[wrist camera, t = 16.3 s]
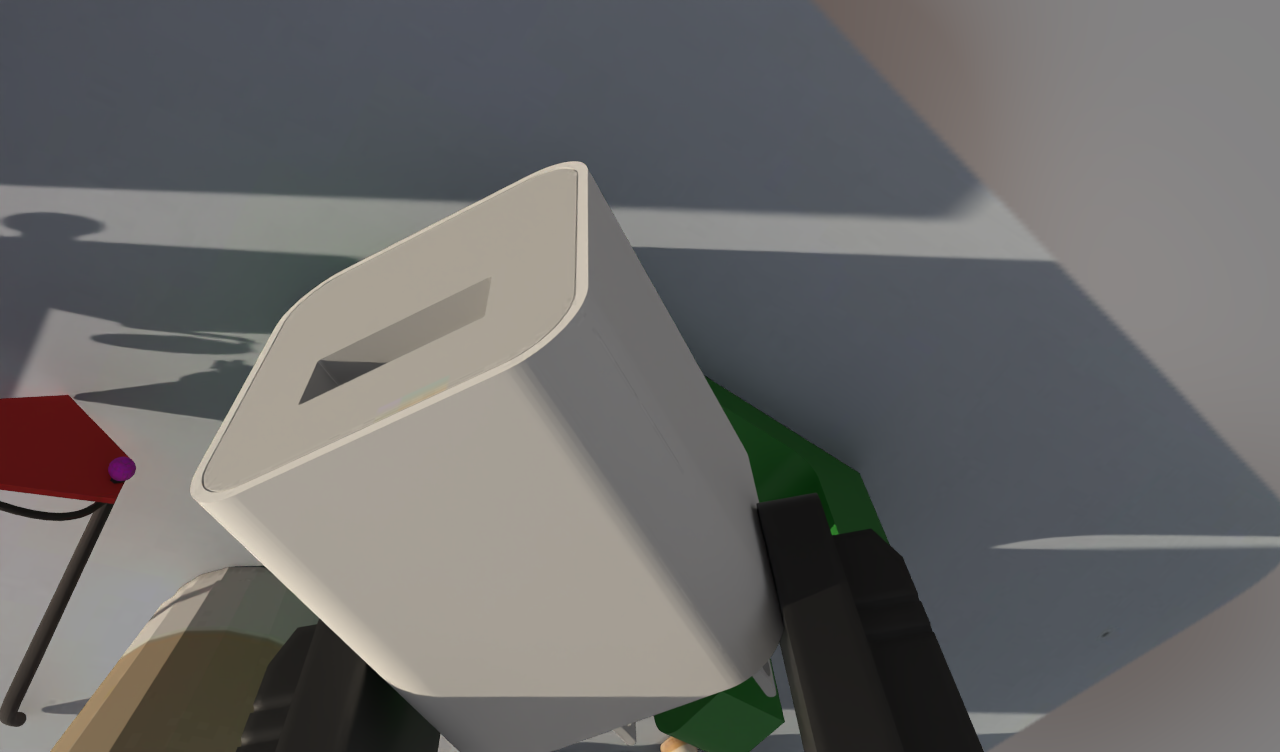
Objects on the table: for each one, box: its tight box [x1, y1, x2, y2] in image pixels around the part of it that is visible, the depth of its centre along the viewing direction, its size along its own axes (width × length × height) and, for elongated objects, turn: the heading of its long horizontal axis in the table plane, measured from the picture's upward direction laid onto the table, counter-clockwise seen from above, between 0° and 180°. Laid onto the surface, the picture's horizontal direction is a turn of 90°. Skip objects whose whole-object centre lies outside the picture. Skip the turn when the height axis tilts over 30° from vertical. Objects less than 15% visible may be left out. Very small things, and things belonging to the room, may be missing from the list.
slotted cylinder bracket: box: [654, 376, 890, 752], centre depth 28 cm, size 18×9×6 cm, turn 53°
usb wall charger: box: [190, 161, 784, 752], centre depth 11 cm, size 4×7×4 cm, turn 27°
